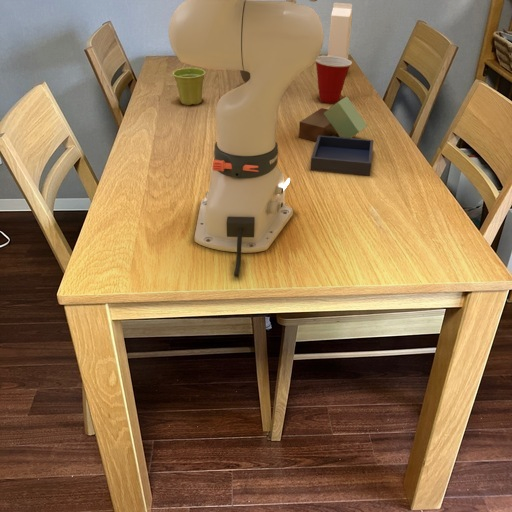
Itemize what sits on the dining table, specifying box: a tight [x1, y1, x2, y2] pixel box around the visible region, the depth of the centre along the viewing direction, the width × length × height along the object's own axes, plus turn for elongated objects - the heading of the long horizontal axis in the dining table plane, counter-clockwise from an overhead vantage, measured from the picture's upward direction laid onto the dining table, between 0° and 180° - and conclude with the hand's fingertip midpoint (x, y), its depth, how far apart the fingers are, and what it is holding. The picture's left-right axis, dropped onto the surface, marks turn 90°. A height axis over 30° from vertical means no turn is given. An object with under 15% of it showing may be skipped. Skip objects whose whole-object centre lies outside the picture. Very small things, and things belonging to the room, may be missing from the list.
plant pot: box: [172, 67, 206, 106], centre depth 161 cm, size 9×9×9 cm
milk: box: [327, 2, 353, 60], centre depth 181 cm, size 6×6×22 cm
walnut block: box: [298, 107, 338, 143], centre depth 143 cm, size 7×12×4 cm, turn 147°
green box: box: [324, 96, 368, 138], centre depth 139 cm, size 10×5×10 cm, turn 57°
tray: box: [309, 135, 374, 177], centre depth 130 cm, size 13×13×3 cm
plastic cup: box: [315, 55, 353, 104], centre depth 162 cm, size 11×11×12 cm
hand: (302, 4), depth 129 cm, fingers open, 8 cm apart
